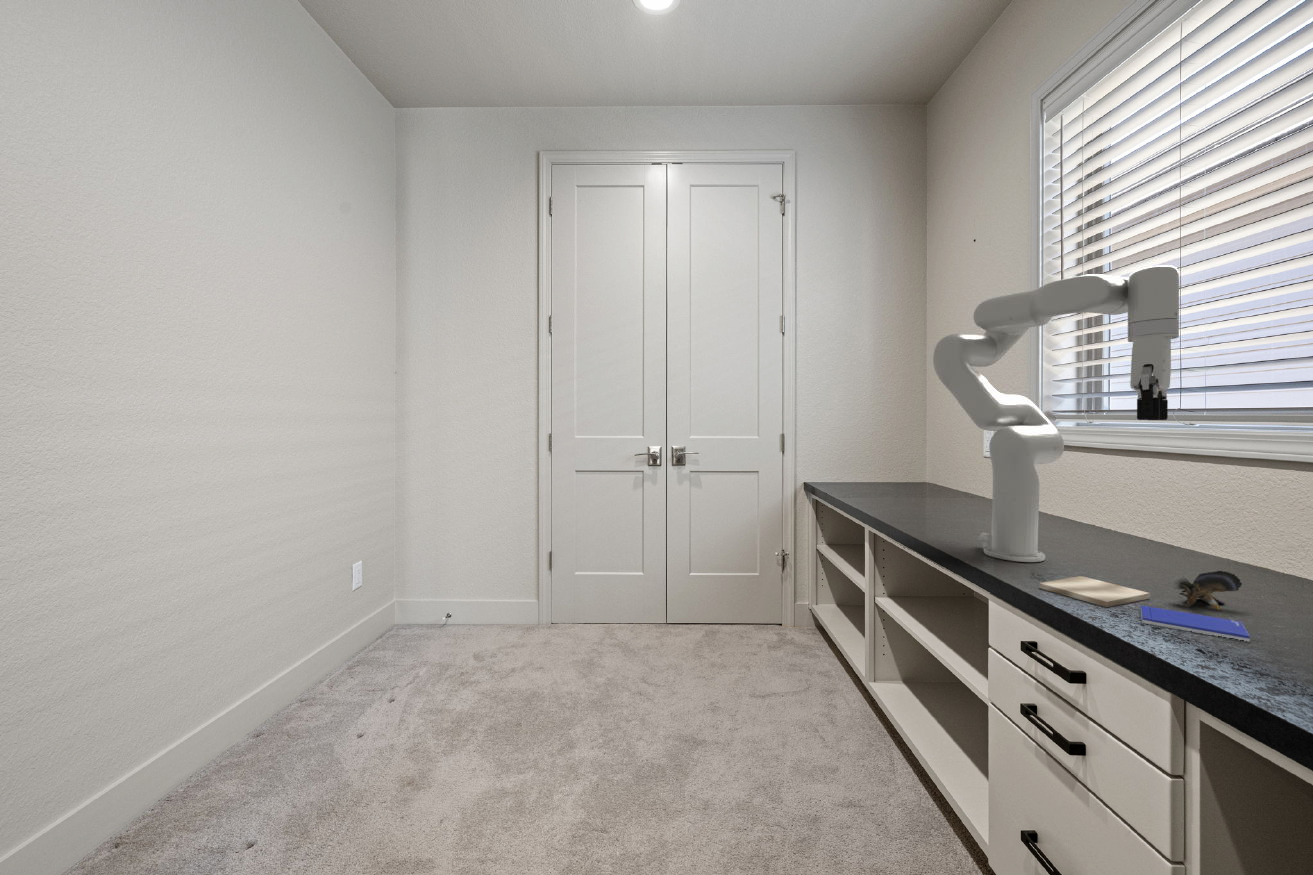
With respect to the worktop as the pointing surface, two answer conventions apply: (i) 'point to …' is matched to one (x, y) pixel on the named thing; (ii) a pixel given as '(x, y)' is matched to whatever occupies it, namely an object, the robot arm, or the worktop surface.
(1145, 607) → the hard drive
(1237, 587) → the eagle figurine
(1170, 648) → the worktop surface
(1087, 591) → the ash board
